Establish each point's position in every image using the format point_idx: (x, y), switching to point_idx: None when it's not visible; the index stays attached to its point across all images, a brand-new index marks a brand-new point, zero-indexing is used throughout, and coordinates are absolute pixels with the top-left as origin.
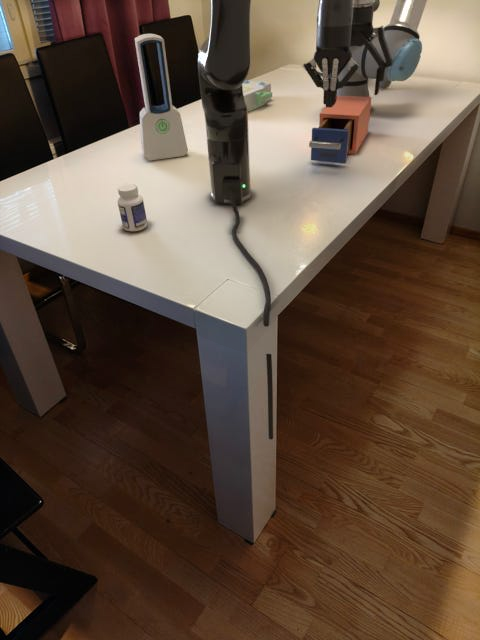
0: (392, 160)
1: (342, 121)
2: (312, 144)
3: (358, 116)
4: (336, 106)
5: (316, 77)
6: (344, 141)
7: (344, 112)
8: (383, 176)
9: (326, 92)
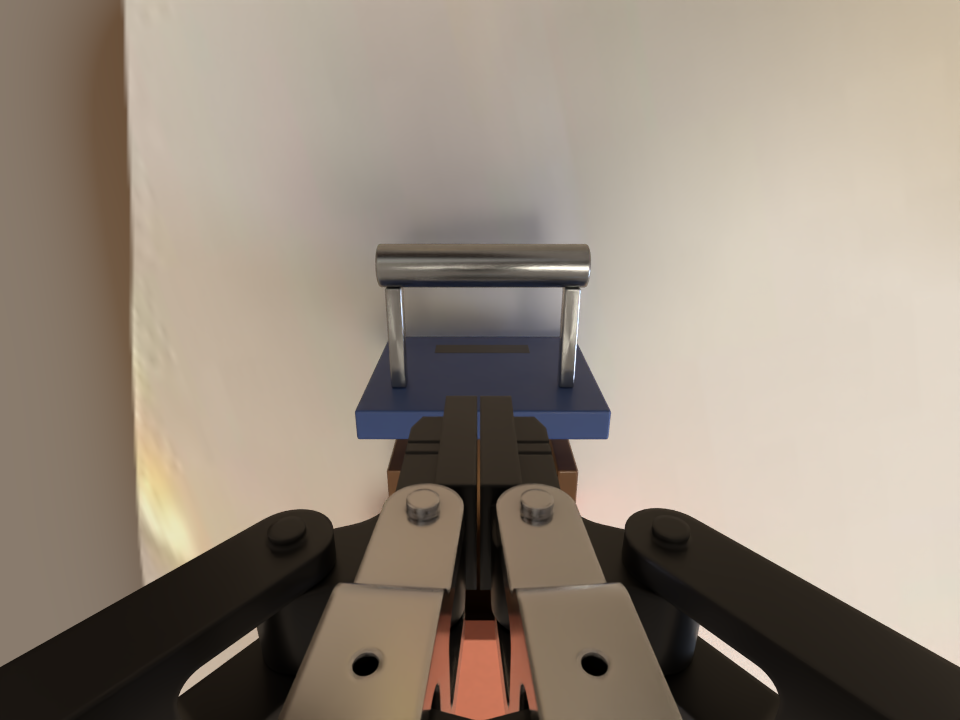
0: (211, 460)
1: None
2: (565, 247)
3: None
4: None
5: (764, 624)
6: (386, 381)
7: (459, 678)
8: (179, 260)
9: (518, 471)
